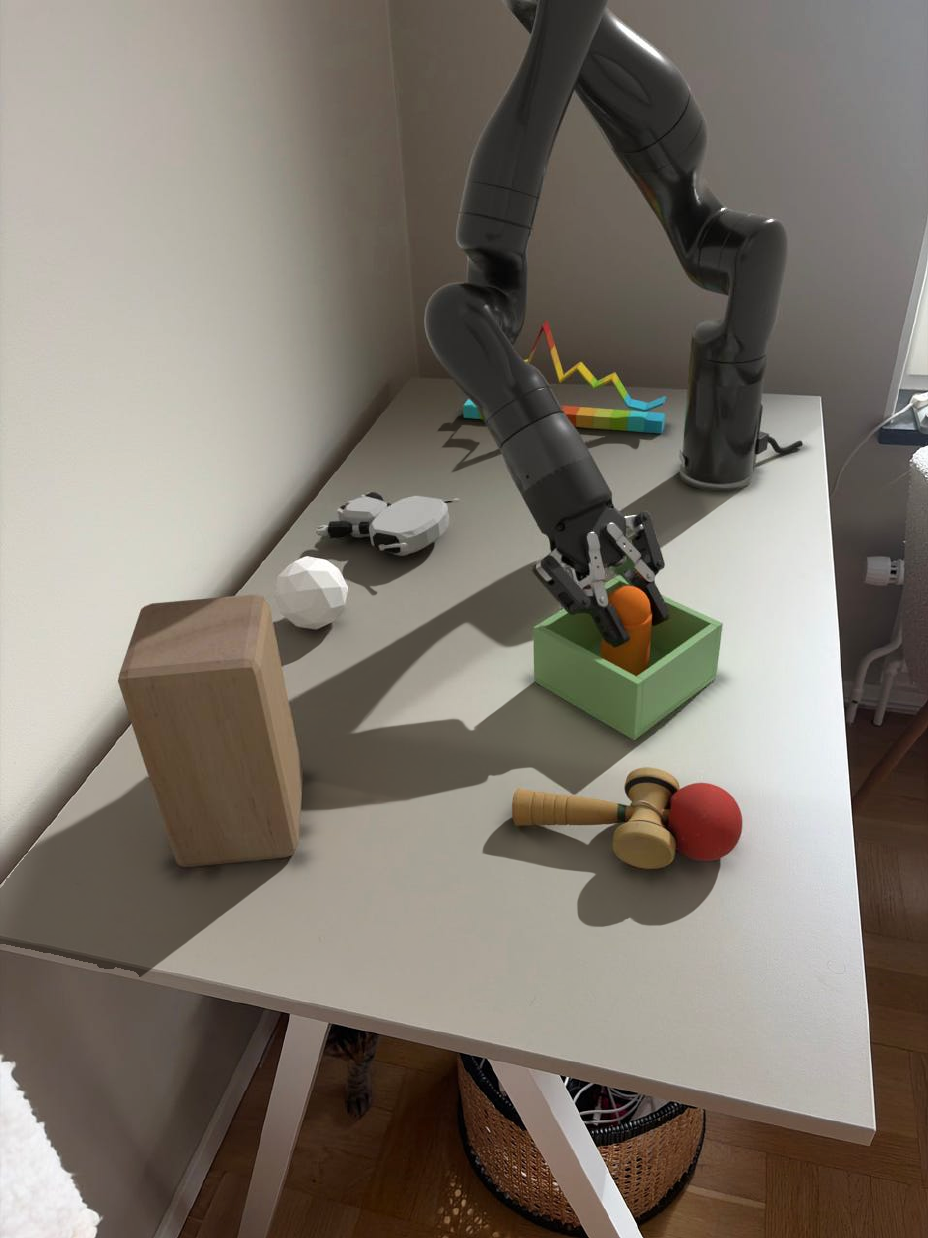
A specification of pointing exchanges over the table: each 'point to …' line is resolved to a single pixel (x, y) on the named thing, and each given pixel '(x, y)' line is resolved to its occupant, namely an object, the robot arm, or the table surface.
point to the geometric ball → (311, 592)
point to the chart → (595, 415)
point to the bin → (612, 693)
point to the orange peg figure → (630, 630)
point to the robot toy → (391, 522)
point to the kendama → (646, 818)
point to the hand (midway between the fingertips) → (641, 632)
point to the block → (215, 728)
